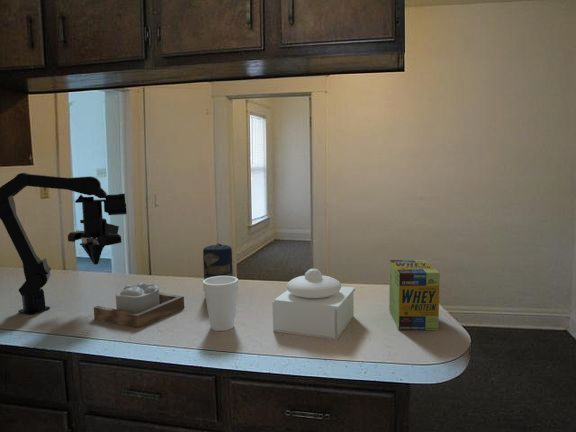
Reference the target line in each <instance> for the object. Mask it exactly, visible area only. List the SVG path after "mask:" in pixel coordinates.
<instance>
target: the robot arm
mask: <svg viewBox="0 0 576 432" xmlns="http://www.w3.org/2000/svg"><path fill="white" fill-rule="evenodd" d="M26 187H35V188H43V189H44V188H45V189H57V190H65V191H66V190H67V191H71V192H75V193H78V194H80V195H79V196H78V197H77V199H75V201H74V202H75V203H78V204H80V203H81V205H82V207H81V209H82V219H80V220H79V221H80V222H79V224H83V230H77V231H72V232H69V233H68V235H67V241H68V242H70V243H75V242H76V241H78V240H81V242H80V243H79V245H80V246H81V247H82V248H83V250H84V251H85V253H86V255H88V257H89V259H90V260H91V262H92V264H93V265H94V266H95V265H98V264H99V262H100V259H101V255H102V252H103V250H104V248H105V247H106V246H112V245H117V244H121V243H122V236H121V235H120V234H119V229H120V226H119V225H115V224H111V223H109V222H107V219H106V218H103V211H104V213H107V214H108V215H107V216H118V215H119V216H123V215H127V214H128V212H127V203H126V194H125V193H117V194H107V191H105V190H104V189H103V188H102V184H101V181H100V180H99V179H98V178H97V177H96V176H93V175H92V176H89V175H88V176H77V177H62V176H56V175H55V176H54V175H43V174H34V173H27V172H20V173H17V174H16V176H14V177H13V178H12V179H10V180H9V181H8V182H5V183H4V184H2V185H1V186H0V220H1V221H2V224H3V226H4V228H5V230H6V231H7V234H8V236H9V238H10V240H11V242H12V244H13V246H14V248H15V250H16V252H17V254H18V257H19V258H20V260H21V263H22V269H23V274H24V278H25V281H24V282H23V283H22V285H21V286H20V287H19V289H18V292H19V294H20V296H21V298H22V299H21V300H22V309H18V313H21V314H26V315H31V316H32V315H34V314H38V313H40V312H43V311H47V310H49V309H51V307H50V306H49V305H46V298H45V296H46V295H45V291H44V289H43V288H44V287H45V285H46V284H47V283H48V282H49V280H50V278H51V277H50V276H51V271H52V268H51V267H50V266H49V264H48V261H47V260H48V259H46V258H43V259H41V258H40V257H39V256H38V255H37V253H36V252H35V249H34V247H33V246H32V243H31V241H30V239H29V237H28V235H27V233H26V231H25V228H24V227H23V224H22V222H21V220H20V219H19V217H18V215H17V209H16V202H15V199H14V197H15V196H16V195H17V194H19V193H20V192H22V191H23V189H25V188H26ZM83 195H85V196H83ZM86 195H87V196H86ZM94 197H97V199H95V198H94ZM102 202H103V205H102Z"/></svg>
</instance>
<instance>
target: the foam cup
mask: <svg viewBox="0 0 576 432" xmlns="http://www.w3.org/2000/svg"><path fill="white" fill-rule="evenodd" d="M202 286H203V292H204V297H205V298H204V299H205V302H206V306H207V307H206V308H207V313H208V314H207V315H208V319H209V324H210V329H211V330H213V331H218V332H220V331H222V332H224V331H229V330H231V329H233V328H234V327H235V319H236V312H237V311H236V310H237V309H236V307H237V300H238V299H237V298H238V290H239V279H238V277H236V276H234V275H233V276H215V277H210V278H207V279H205V280H204V279H203V280H202Z"/></svg>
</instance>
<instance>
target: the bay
mask: <svg viewBox="0 0 576 432" xmlns="http://www.w3.org/2000/svg"><path fill="white" fill-rule="evenodd" d="M159 303H160V304H159V305H157V306H154V307H152V308H150V309H147V310H145V311H142V312H140V313H133V312H128V311H122V310H117V308H110V307H106V306H100V305H97V306H94V307H93V318H94V320H98V321H102V322H108V323H112V324H117V325H121V326H127V327H132V328H136V329H140V328H142V327H144V326H146V325H149V324H151V323H153V322H155V321H158V320H160V319H162V318H164V317H166V316H168V315H171V314H173V313H175V312H177V311H179V310H181V309H184V308H185V296H183V295H176V294H171V293H164V292H159Z"/></svg>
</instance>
